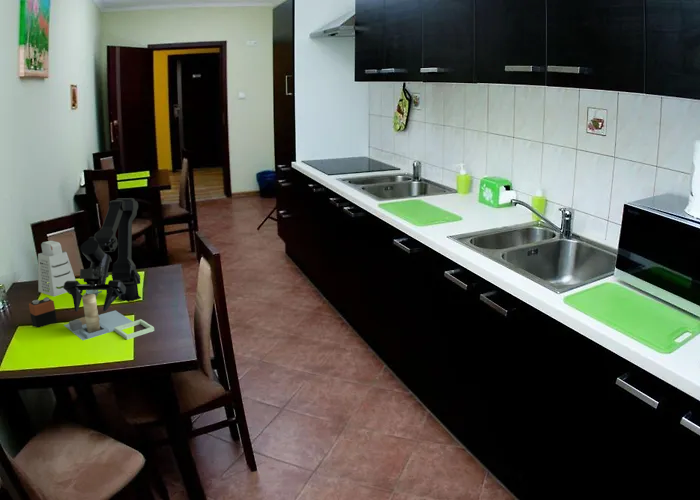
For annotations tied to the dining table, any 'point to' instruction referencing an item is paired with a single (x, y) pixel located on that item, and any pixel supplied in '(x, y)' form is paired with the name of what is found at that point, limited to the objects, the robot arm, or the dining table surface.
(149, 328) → the tray
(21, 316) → the dining table surface
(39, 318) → the battery
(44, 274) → the grater
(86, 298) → the dowel
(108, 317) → the board
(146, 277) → the dining table surface
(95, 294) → the pacifier
